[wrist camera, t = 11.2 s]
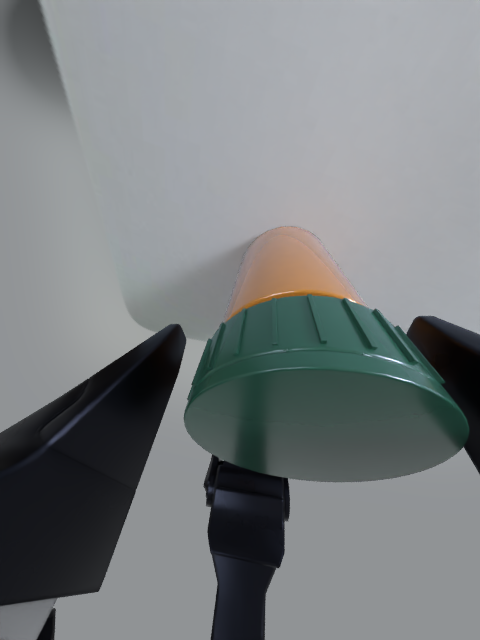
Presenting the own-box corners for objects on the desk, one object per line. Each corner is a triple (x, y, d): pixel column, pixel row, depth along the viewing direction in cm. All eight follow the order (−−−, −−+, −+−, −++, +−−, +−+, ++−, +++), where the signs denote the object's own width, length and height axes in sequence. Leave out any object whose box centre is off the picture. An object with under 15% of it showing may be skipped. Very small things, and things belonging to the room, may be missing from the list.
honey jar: (261, 316, 16) (251, 452, 8) (225, 251, 13) (159, 372, 5) (336, 291, 14) (422, 448, 6) (315, 206, 11) (435, 300, 3)
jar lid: (468, 340, 5) (581, 436, 3) (323, 429, 9) (337, 493, 7) (234, 254, 4) (208, 311, 3) (192, 391, 8) (171, 450, 7)
